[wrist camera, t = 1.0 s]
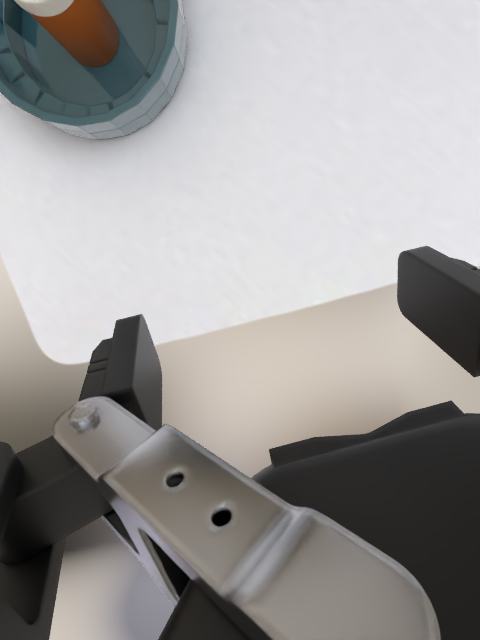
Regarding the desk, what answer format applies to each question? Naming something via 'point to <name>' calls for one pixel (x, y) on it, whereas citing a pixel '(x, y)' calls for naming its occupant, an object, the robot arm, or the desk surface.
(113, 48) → the pill bottle
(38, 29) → the bowl
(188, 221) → the desk surface
